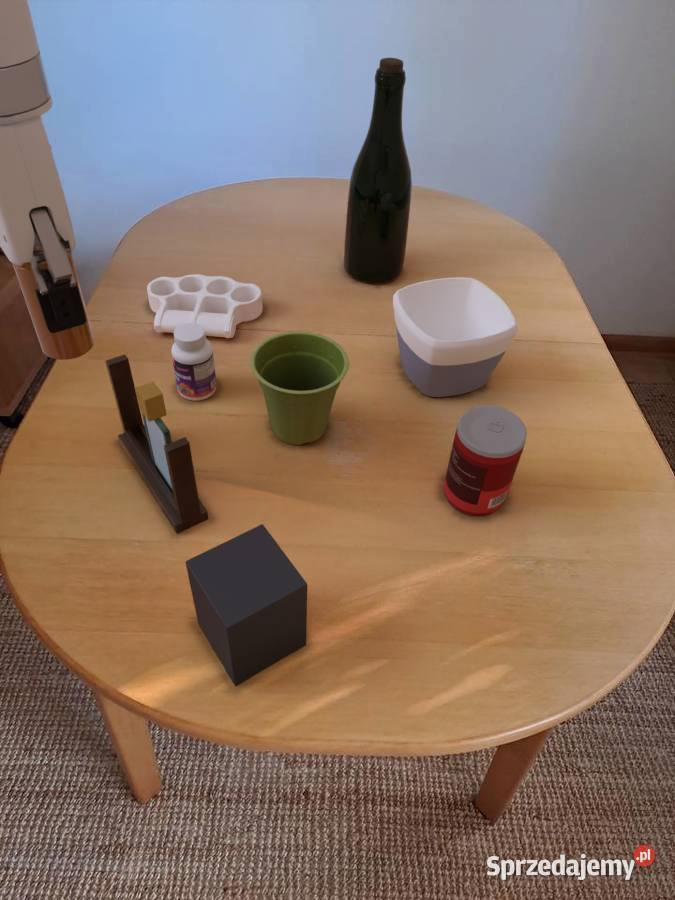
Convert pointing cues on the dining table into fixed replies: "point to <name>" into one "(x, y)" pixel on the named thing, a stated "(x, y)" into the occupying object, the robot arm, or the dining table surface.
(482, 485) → the canned food
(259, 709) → the dining table surface
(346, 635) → the dining table surface
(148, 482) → the window frame
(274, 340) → the plant pot
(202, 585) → the stand
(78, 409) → the dining table surface
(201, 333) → the pill bottle
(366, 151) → the wine bottle
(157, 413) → the pane
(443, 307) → the bowl
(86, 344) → the orange-brown cylinder
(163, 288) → the white compartment tray
